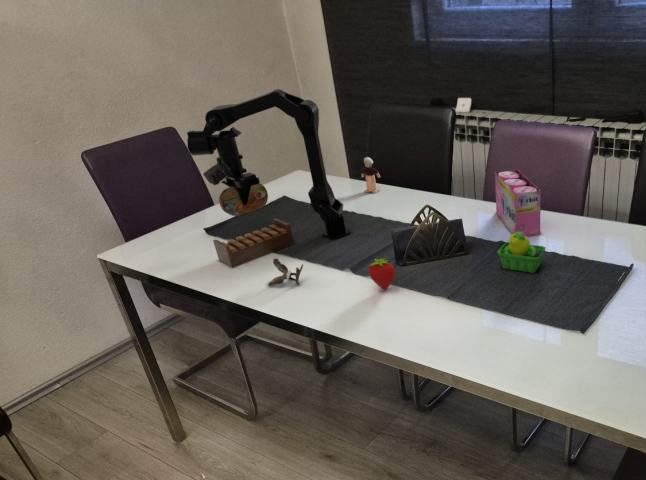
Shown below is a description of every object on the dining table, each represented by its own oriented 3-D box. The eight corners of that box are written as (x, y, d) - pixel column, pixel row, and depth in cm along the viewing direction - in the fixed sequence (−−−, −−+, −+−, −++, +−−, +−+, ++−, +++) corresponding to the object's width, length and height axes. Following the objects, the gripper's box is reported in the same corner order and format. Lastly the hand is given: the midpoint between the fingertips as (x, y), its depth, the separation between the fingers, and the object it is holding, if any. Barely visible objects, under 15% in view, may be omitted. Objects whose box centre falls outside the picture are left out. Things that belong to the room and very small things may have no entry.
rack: (294, 243, 185) (289, 223, 182) (232, 267, 173) (225, 247, 170) (280, 237, 190) (275, 218, 187) (219, 260, 178) (212, 240, 175)
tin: (226, 219, 181) (219, 191, 176) (221, 216, 182) (214, 189, 178) (270, 206, 189) (265, 180, 185) (265, 204, 191) (260, 178, 187)
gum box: (494, 211, 197) (492, 170, 190) (517, 208, 198) (516, 167, 191) (515, 238, 177) (515, 193, 170) (541, 234, 178) (541, 190, 171)
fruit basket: (546, 263, 162) (547, 224, 155) (535, 278, 155) (536, 237, 149) (506, 258, 166) (506, 219, 160) (495, 272, 159) (493, 232, 153)
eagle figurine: (307, 271, 165) (276, 265, 166) (300, 258, 158) (268, 251, 159) (298, 295, 162) (266, 289, 163) (290, 283, 155) (258, 276, 156)
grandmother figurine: (361, 193, 221) (355, 159, 215) (364, 190, 225) (359, 155, 218) (381, 193, 220) (376, 158, 213) (384, 189, 223) (379, 155, 216)
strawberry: (386, 298, 151) (381, 262, 146) (366, 291, 155) (360, 255, 150) (402, 289, 155) (398, 253, 149) (382, 282, 159) (377, 247, 153)
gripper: (188, 155, 177) (205, 205, 185) (217, 164, 165) (233, 218, 174) (223, 145, 183) (237, 195, 192) (253, 154, 171) (267, 207, 180)
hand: (243, 204), depth 184 cm, fingers closed on tin, 2 cm apart
